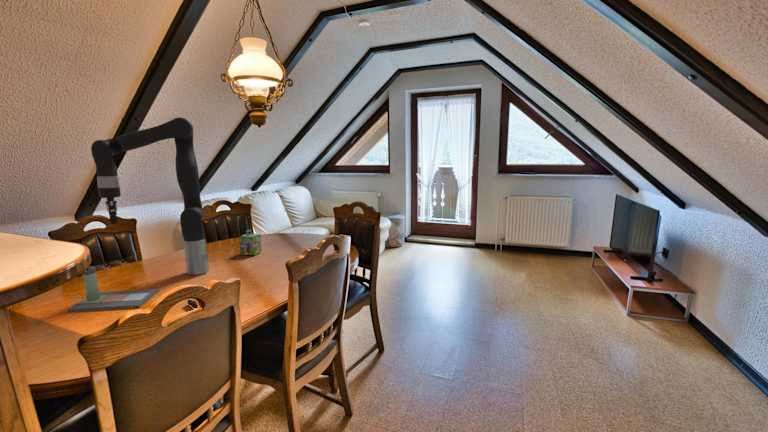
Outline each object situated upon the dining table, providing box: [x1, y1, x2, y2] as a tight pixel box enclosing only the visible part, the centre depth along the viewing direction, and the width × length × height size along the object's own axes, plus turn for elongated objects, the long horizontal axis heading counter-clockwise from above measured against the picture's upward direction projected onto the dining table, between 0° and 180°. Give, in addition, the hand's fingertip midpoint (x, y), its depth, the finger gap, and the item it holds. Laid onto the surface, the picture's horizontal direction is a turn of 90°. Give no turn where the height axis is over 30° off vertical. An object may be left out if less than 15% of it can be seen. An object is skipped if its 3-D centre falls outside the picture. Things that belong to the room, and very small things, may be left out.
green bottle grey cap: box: [82, 266, 100, 301], centre depth 133 cm, size 4×4×13 cm
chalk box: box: [238, 228, 262, 256], centre depth 201 cm, size 9×9×15 cm
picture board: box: [67, 288, 160, 313], centre depth 135 cm, size 24×16×1 cm, turn 101°
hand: (113, 222), depth 151 cm, fingers open, 8 cm apart
